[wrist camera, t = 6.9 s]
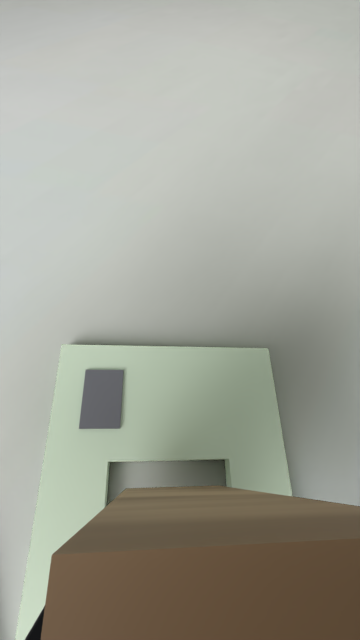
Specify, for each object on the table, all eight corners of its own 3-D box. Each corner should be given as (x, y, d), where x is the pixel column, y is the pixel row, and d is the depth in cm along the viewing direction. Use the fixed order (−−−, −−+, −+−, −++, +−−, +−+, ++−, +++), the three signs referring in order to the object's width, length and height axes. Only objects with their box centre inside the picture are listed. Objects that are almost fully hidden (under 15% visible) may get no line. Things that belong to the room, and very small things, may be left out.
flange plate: (333, 814, 11) (352, 850, 10) (-13, 869, 10) (-32, 917, 9) (262, 353, 19) (269, 346, 18) (65, 350, 18) (60, 342, 17)
